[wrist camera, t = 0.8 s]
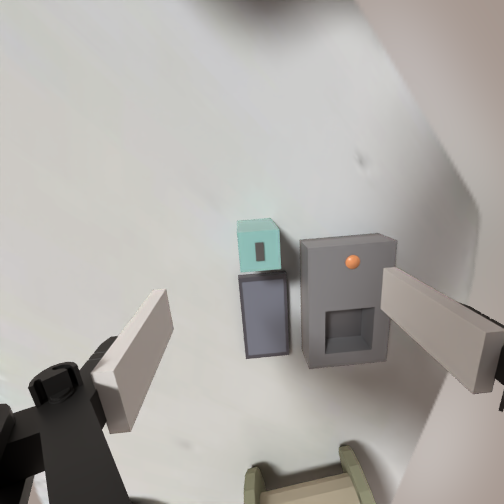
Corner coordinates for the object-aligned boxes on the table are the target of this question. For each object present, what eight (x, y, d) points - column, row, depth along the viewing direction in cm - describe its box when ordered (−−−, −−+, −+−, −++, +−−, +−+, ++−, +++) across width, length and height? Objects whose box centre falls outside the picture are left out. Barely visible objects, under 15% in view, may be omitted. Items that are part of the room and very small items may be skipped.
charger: (237, 220, 31) (237, 233, 24) (270, 218, 31) (279, 229, 24) (240, 252, 32) (240, 273, 25) (271, 249, 32) (281, 269, 25)
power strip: (299, 239, 32) (308, 248, 28) (378, 233, 32) (398, 241, 28) (301, 348, 36) (309, 370, 32) (370, 341, 36) (387, 362, 32)
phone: (245, 354, 36) (246, 359, 35) (238, 275, 33) (238, 278, 31) (287, 350, 36) (289, 355, 35) (284, 271, 33) (286, 274, 32)
